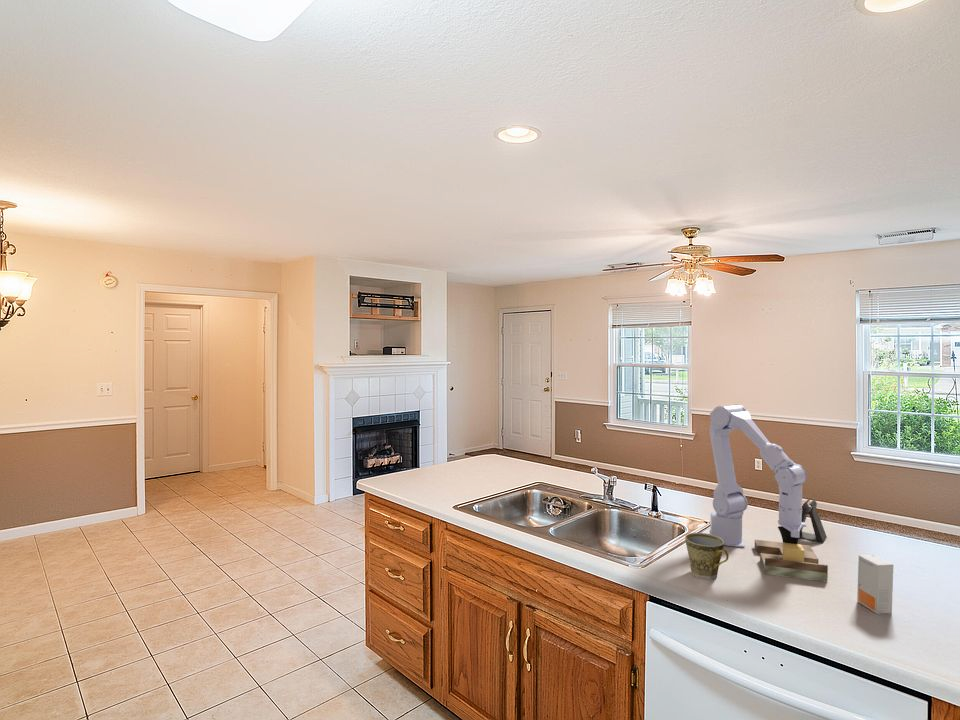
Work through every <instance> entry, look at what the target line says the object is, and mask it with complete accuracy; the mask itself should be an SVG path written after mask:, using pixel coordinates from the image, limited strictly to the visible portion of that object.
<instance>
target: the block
mask: <svg viewBox="0 0 960 720" xmlns="http://www.w3.org/2000/svg"><path fill="white" fill-rule="evenodd" d="M782 543H783V542H782ZM801 545H802V544H799V543H797V544H791V543H783V553H782V558H783V560H790V561H798V562H804V549H803V548H802V546H801Z"/></svg>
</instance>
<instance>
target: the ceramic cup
mask: <svg viewBox="0 0 960 720" xmlns="http://www.w3.org/2000/svg"><path fill="white" fill-rule="evenodd" d="M684 536H685V537H684V539H685V545H686V551H687V554H688V558H689V566H690V571H691V575H692V576H694V577H696V578H697V579H700V580H701V579H702V580H708V581H711V580H715V579H717V577H718V574H719V567H720V566H721V564H724V563H726V562H727V561H728V560H729V553H728V551H727V550H726V549H724V546H725V545H724V540H723V539H721V538H720V537H717V536H715V535H711V534H710V533H705V532H692V533H688V534H686V535H684ZM723 554H724V555H725V560H722V561H721V559H722V555H723Z"/></svg>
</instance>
